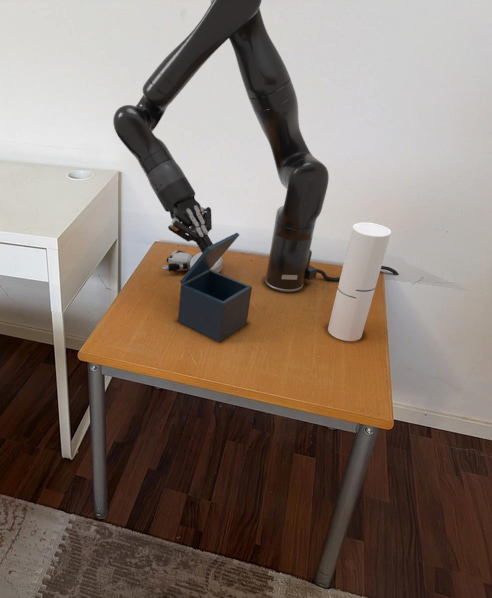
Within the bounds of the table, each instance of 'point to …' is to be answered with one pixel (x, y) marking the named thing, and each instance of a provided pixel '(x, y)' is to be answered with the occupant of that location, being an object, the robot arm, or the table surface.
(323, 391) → the table surface
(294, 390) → the table surface
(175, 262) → the robot toy
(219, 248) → the lid
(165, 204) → the robot arm
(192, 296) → the caddy
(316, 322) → the table surface
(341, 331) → the cylindrical container
